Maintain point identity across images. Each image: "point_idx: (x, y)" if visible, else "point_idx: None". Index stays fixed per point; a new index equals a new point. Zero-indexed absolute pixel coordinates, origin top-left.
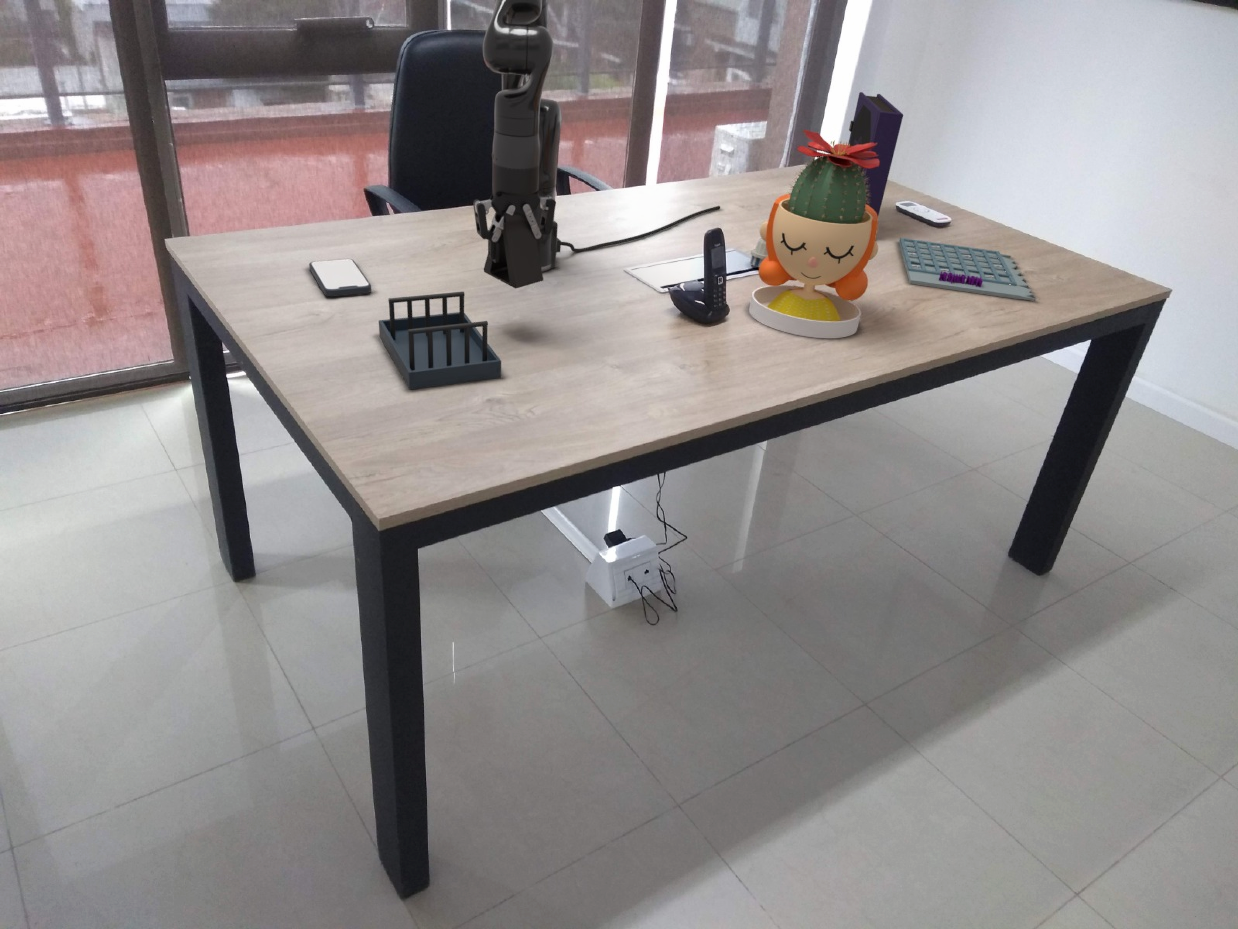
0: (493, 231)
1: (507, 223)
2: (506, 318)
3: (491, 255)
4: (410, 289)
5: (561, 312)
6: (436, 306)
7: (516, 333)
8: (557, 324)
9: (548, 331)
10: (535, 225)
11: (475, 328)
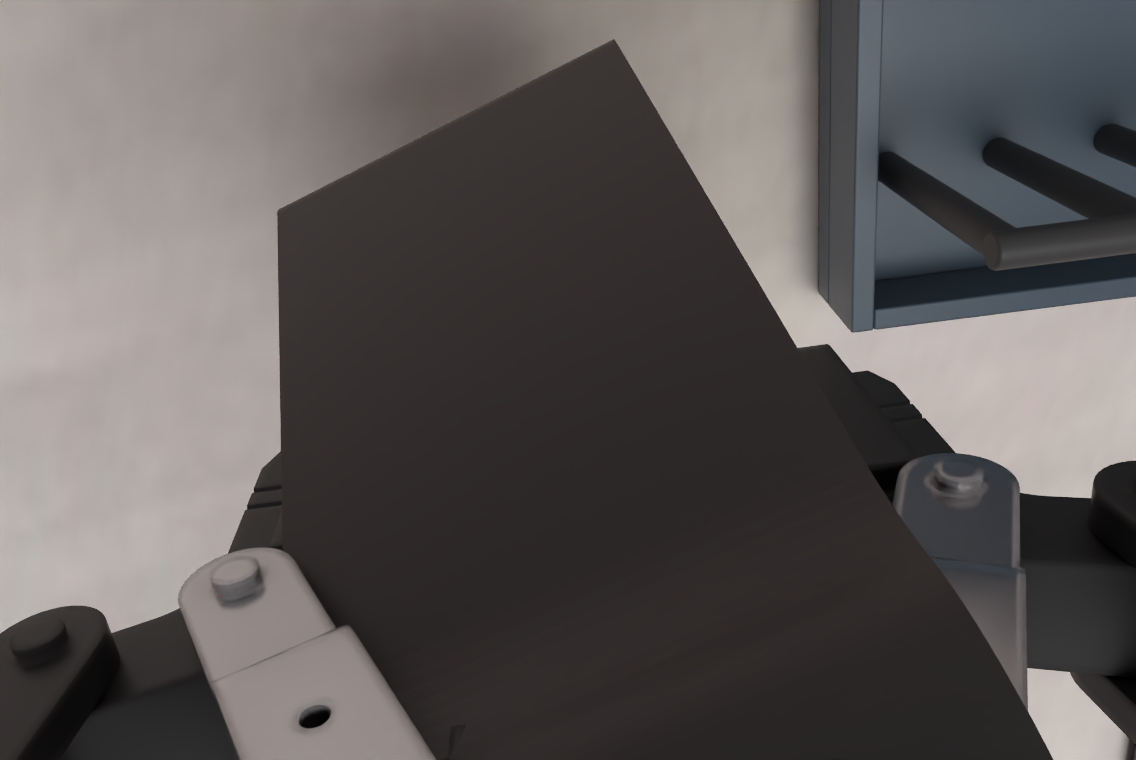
0: None
1: (905, 583)
2: None
3: (891, 390)
4: None
5: (161, 430)
6: None
7: None
8: (212, 264)
9: (291, 165)
10: (258, 663)
11: (864, 47)
